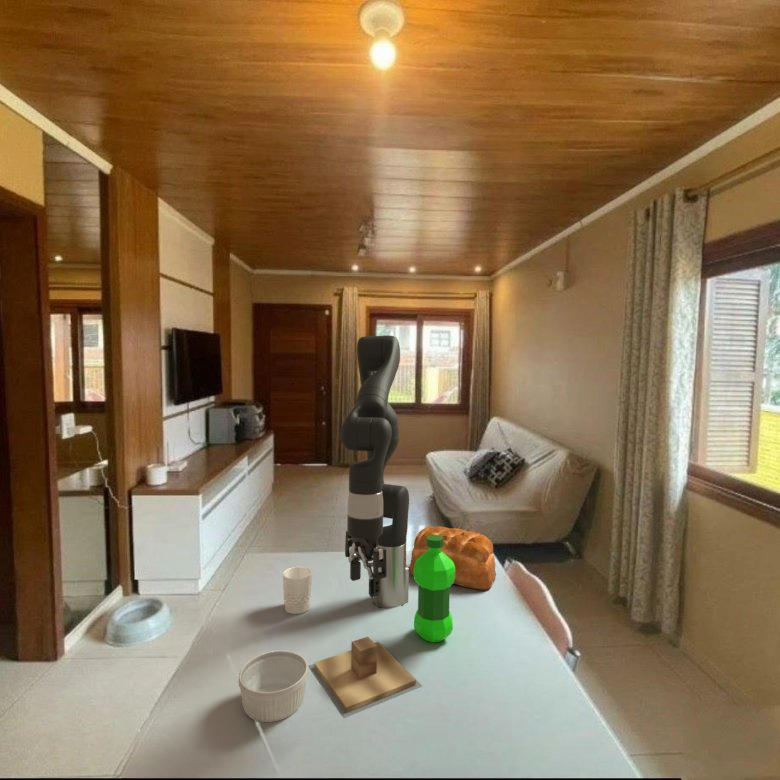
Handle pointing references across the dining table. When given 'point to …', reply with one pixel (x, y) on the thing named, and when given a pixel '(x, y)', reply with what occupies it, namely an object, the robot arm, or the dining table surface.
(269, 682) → the ramekin
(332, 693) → the grey mat
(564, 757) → the dining table surface
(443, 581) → the plastic bottle
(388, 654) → the oak lid
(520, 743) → the dining table surface
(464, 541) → the bread
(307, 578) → the white cup
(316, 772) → the dining table surface
